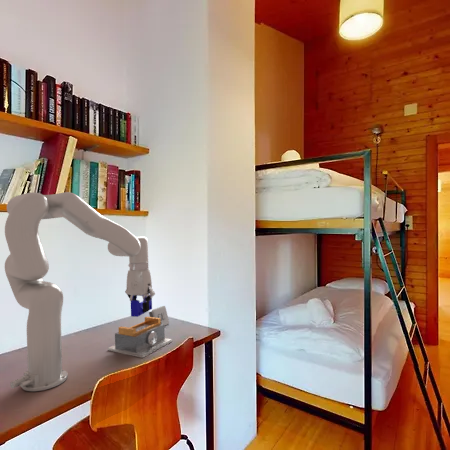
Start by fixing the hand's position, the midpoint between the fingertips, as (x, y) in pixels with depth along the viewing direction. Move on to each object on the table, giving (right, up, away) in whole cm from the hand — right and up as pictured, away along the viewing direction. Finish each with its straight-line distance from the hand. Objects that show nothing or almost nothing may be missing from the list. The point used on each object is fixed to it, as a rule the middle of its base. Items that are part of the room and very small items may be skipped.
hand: (140, 310), depth 129 cm
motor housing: (0, -14, 0) cm, 14 cm away
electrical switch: (+2, -15, +26) cm, 30 cm away
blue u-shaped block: (0, -1, 0) cm, 1 cm away
